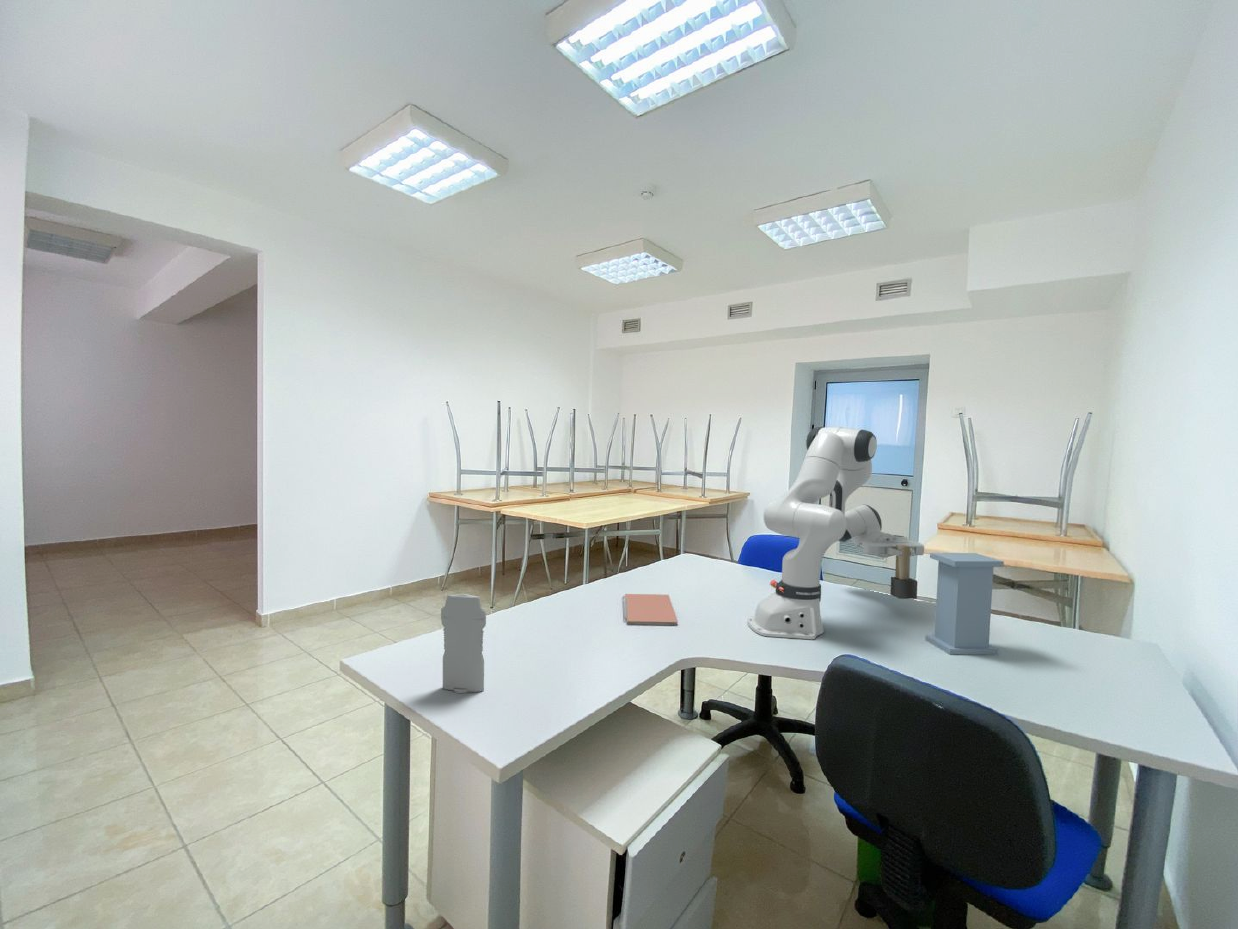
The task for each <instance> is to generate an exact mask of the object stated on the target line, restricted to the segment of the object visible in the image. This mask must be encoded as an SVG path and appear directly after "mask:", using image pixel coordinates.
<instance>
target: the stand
mask: <svg viewBox="0 0 1238 929" xmlns="http://www.w3.org/2000/svg"><path fill="white" fill-rule="evenodd" d="M929 559H931V560H935V561H938V563H937V564H938V565H937V584H936V602H935V603H936V606H935V619H934V620H935V622H934V634H925V638H924V639H925V641H926V642H927V643H929V642H930V643H929V644H931V645H933V644H934V645H935V646H934V645H933V646H934V647H936V646H937V647H936V648H938V649H939V648H940V650H942V651H943V650H944V651H945V653H946V652H947V653H946V654H948V655H949V654H950V655H951V656H952V655H954V654H963V655H965V654H967V655H968V654H969V655H970V654H971V655H999V648H997V647H995V646H993V645H991V644H990V633H991V632H990V631H991V630H990V629H991V613H992V601H993V600H992V596H993V583H994V568H996V567H997V568H1003V567H1004V564H1005V561H1003V560H1000V559H997V558H994V557H990V556H987V555H983V554H980V553H977V552H930V553H929ZM944 651H943V652H944ZM963 655H962V656H963ZM954 656H955V655H954ZM965 656H966V655H965Z"/></svg>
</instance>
